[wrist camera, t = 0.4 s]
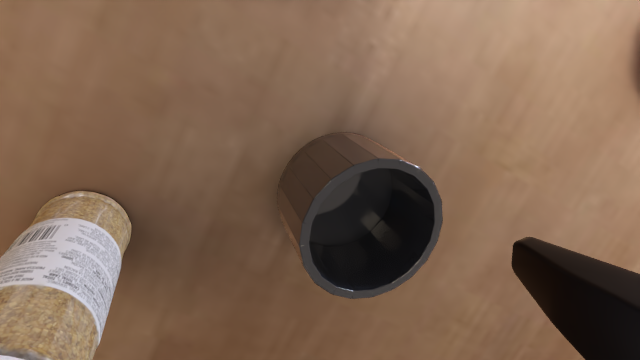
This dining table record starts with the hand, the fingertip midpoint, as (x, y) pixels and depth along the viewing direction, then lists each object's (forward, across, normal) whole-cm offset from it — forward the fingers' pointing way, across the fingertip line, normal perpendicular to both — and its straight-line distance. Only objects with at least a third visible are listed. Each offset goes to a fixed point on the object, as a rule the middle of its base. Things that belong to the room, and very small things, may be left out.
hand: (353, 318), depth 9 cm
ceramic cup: (+14, -3, +6) cm, 15 cm away
